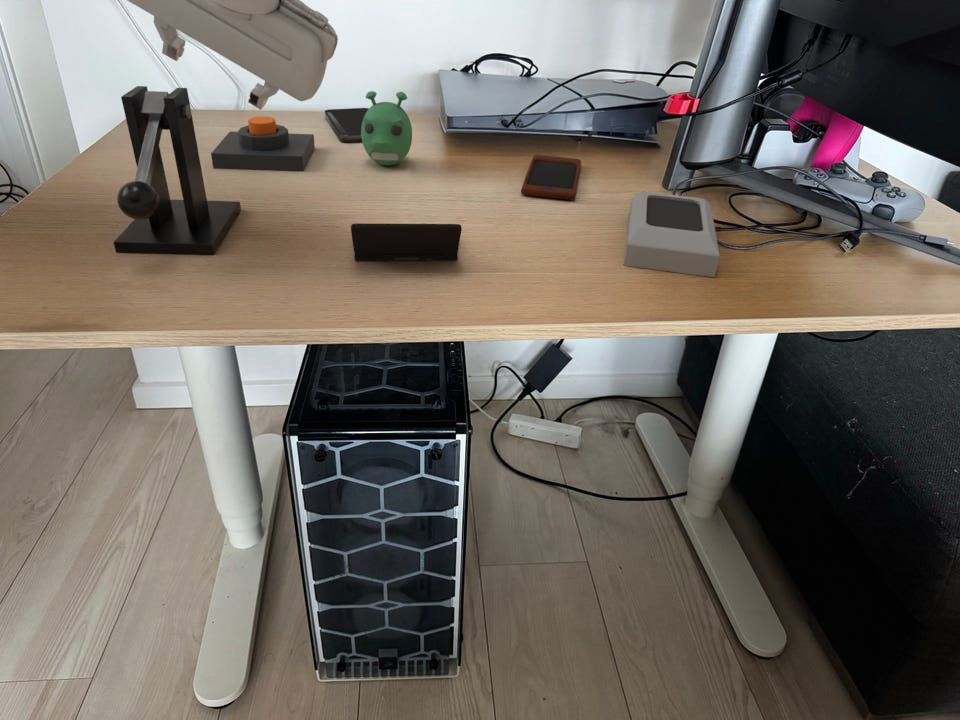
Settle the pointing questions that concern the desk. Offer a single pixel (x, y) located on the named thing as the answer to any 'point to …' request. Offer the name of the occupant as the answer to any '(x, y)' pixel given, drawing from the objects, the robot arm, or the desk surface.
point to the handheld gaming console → (405, 242)
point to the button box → (264, 151)
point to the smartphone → (552, 177)
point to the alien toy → (386, 131)
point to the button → (262, 125)
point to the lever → (146, 161)
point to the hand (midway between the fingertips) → (215, 79)
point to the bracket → (194, 217)
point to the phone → (346, 123)
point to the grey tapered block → (671, 234)
